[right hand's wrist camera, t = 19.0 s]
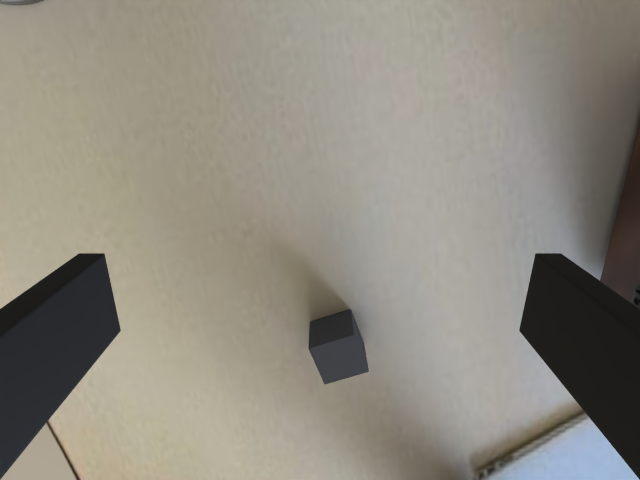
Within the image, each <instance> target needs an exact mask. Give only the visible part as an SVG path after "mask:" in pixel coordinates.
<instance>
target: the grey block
mask: <svg viewBox="0 0 640 480" xmlns="http://www.w3.org/2000/svg"><path fill="white" fill-rule="evenodd" d="M309 350H310V353H311V355H312V357H313V359H314V362H315V364H316V366H317V368H318V371H319V373H320V375H321V377H322V379H323V382H324V384H328V383H331V382H335V381H338V380H342V379H345V378H349V377H352V376H355V375H359V374H362V373H366V372H368V371H369V370H368V364H367V358H366V353H365V347H364V342H363V340H362V337H361V335H360V332H359V329H358V327H357V324H356V322H355V319H354V316H353V314H352V311H351V309H350V310H347V311H344V312H340V313H337V314H334V315H331V316H328V317H324V318H321V319H318V320H315V321H312V322H310V329H309Z"/></svg>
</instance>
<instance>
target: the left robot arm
mask: <svg viewBox="0 0 640 480" xmlns="http://www.w3.org/2000/svg"><path fill="white" fill-rule="evenodd" d="M631 303H632V304H633V305H635V306H636V307H637V308H639V309H640V285H637V286H636V287H635V289H634V292H633V295H632V299H631Z"/></svg>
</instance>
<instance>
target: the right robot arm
mask: <svg viewBox="0 0 640 480" xmlns="http://www.w3.org/2000/svg"><path fill="white" fill-rule="evenodd" d="M40 1H43V0H0V3H1V4H8V5H27V4H33V3H37V2H40ZM120 331H121V330H120V325H119V321H118V316H117V311H116V306H115V302H114V297H113V292H112V287H111V283H110V278H109V273H108V268H107V264H106V259H105V254H78V255H76V256H75V257H74V258H72V259H71V260H69V261H68V262H66V263H65V264H64V265H62V266H61V267H59V268H58V269H57V270H55V271H54V272H52V273H51V274H49V275H48V276H47V277H45V278H44V279H42V280H41V281H39V282H38V283H37V284H35V285H34V286H32V287H31V288H30V289H28V290H27V291H25V292H24V293H22V294H21V295H20V296H18V297H17V298H15V299H14V300H13V301H11V302H10V303H8V304H7V305H5V306H4V307H3V308H1V309H0V479H1V478H2V477H3V475H4V474H5V473H6V472H7V471H8V469H9V468H10V467H11V466H12V464H13V463H14V462H15V461H16V459H17V458H18V457H19V456H20V454H21V453H22V452H23V451H24V450H25V448H26V447H27V446H28V445H29V443H30V442H31V441H32V440H33V438H34V437H35V436H36V435H37V433H38V432H39V431H40V430H41V428H42V427H43V426H44V425H45V424H46V422H47V421H48V420H49V419H50V417H51V416H52V415H53V414H54V412H55V411H56V410H57V409H58V407H59V406H60V405H61V404H62V403H63V401H64V400H65V399H66V398H67V396H68V395H69V394H70V393H71V391H72V390H73V389H74V388H75V386H76V385H77V384H78V383H79V381H80V380H81V379H82V378H83V377H84V375H85V374H86V373H87V372H88V370H89V369H90V368H91V367H92V365H93V364H94V363H95V362H96V360H97V359H98V358H99V357H100V356H101V354H102V353H103V352H104V351H105V349H106V348H107V347H108V346H109V344H110V343H111V342H112V341H113V339H114V338H115V337H116V336H117V334H118V333H119V332H120ZM519 331H520V332H521V333H522V334H523V336H524V337H525V338H526V339H527V341H528V342H529V343H530V344H531V346H532V347H533V348H534V349H535V351H536V352H537V353H538V354H539V356H540V357H541V358H542V359H543V360H544V362H545V363H546V364H547V365H548V367H549V368H550V369H551V370H552V372H553V373H554V374H555V375H556V377H557V378H558V379H559V380H560V381H561V383H562V384H563V385H564V386H565V388H566V389H567V390H568V391H569V393H570V394H571V395H572V396H573V398H574V399H575V400H576V401H577V403H578V404H579V405H580V406H581V407H582V409H583V410H584V411H585V412H586V414H587V415H588V416H589V417H590V419H591V420H592V421H593V422H594V424H595V425H596V426H597V427H598V428H599V430H600V431H601V432H602V433H603V435H604V436H605V437H606V438H607V440H608V441H609V442H610V443H611V445H612V446H613V447H614V448H615V450H616V451H617V452H618V453H619V454H620V456H621V457H622V458H623V459H624V461H625V462H626V463H627V464H628V466H629V467H630V468H631V469H632V471H633V472H634V473H635V474H636V475H637V477H638V478H639V479H640V309H639V308H637V307H636V306H635V305H633V304H632V303H630V302H629V301H627V300H626V299H625V298H623V297H622V296H620V295H619V294H618V293H616V292H615V291H613V290H612V289H610V288H609V287H608V286H606V285H605V284H603V283H602V282H601V281H599V280H598V279H596V278H595V277H593V276H592V275H591V274H589V273H588V272H586V271H585V270H583V269H582V268H581V267H579V266H578V265H576V264H575V263H574V262H572V261H571V260H569V259H568V258H566V257H565V256H564V255H562V254H535V259H534V264H533V268H532V273H531V278H530V283H529V287H528V292H527V297H526V302H525V306H524V311H523V316H522V321H521V325H520V330H519Z"/></svg>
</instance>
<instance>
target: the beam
mask: <svg viewBox="0 0 640 480" xmlns="http://www.w3.org/2000/svg"><path fill="white" fill-rule="evenodd" d="M600 281H601V282H602V283H603V284H605V285H606V286H608V287H609V288H610V289H612V290H613V291H615V292H616V293H618V294H619V295H620V296H622V297H623V298H625V299H626V300H627V301H629V302H630V303H631V299H632V295H633V292H634V289H635V287H636V286H637V285H640V126H639V130H638V134H637V138H636V142H635V146H634V150H633V154H632V158H631V162H630V166H629V169H628V173H627V177H626V181H625V185H624V189H623V193H622V197H621V201H620V205H619V209H618V213H617V217H616V221H615V225H614V229H613V233H612V237H611V241H610V244H609V248H608V252H607V256H606V260H605V264H604V268H603V272H602V276H601V280H600Z"/></svg>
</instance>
